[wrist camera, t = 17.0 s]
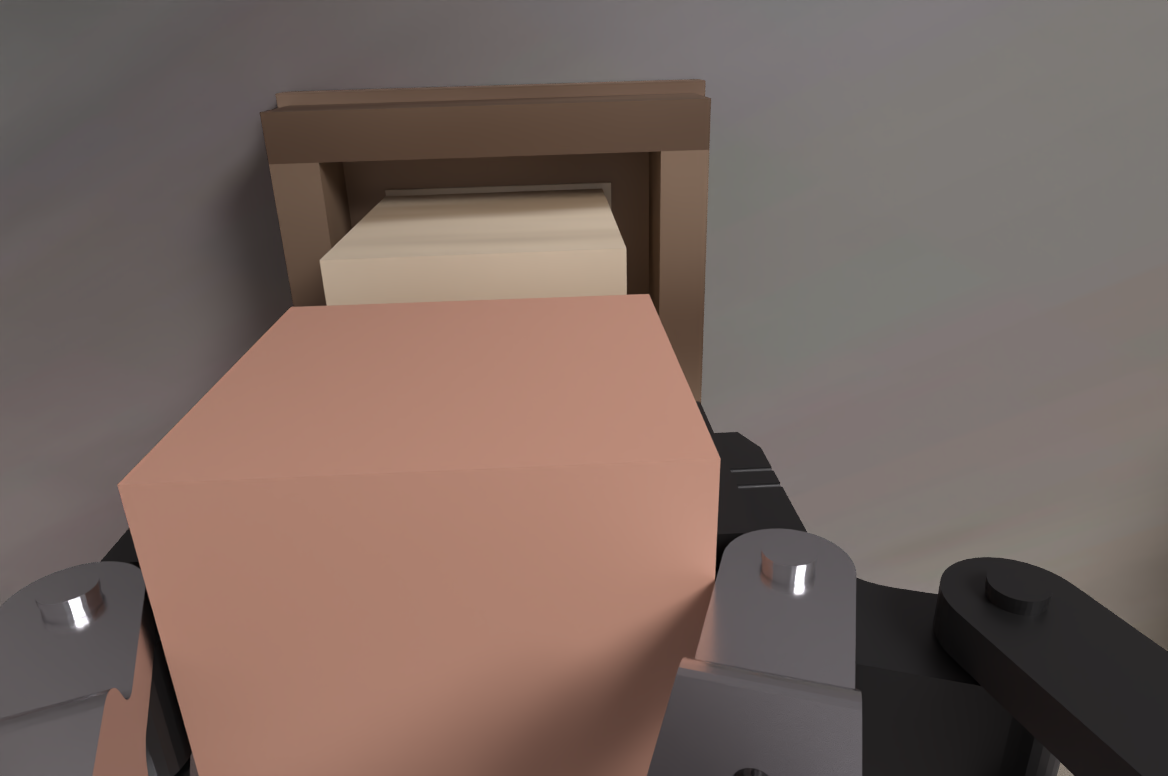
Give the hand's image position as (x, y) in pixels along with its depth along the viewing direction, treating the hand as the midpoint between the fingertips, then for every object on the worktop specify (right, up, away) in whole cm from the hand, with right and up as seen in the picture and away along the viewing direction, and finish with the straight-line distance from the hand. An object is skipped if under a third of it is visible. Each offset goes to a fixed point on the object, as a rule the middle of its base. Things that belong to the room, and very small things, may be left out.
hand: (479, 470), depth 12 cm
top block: (0, 0, 0) cm, 0 cm away
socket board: (0, +4, +9) cm, 10 cm away
